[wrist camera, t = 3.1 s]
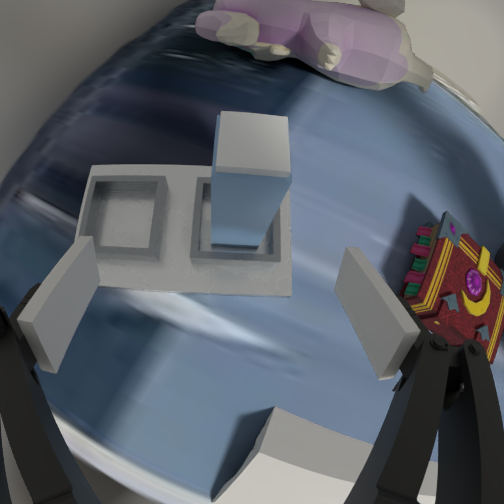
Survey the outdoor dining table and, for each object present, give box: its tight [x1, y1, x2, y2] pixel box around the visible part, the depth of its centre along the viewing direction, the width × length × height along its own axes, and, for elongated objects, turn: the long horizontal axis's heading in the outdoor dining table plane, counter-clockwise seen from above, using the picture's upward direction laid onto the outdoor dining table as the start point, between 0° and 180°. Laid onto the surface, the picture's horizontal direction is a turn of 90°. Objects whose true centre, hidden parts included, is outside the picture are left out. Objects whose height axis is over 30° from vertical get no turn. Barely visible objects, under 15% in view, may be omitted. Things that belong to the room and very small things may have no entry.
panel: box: [74, 164, 292, 297], centre depth 25 cm, size 20×12×3 cm, turn 89°
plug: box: [211, 111, 292, 249], centre depth 20 cm, size 4×5×13 cm
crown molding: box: [212, 407, 438, 504], centre depth 20 cm, size 29×12×4 cm, turn 61°
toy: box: [195, 0, 433, 93], centre depth 29 cm, size 29×17×30 cm
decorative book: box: [399, 211, 504, 364], centre depth 27 cm, size 11×16×5 cm
